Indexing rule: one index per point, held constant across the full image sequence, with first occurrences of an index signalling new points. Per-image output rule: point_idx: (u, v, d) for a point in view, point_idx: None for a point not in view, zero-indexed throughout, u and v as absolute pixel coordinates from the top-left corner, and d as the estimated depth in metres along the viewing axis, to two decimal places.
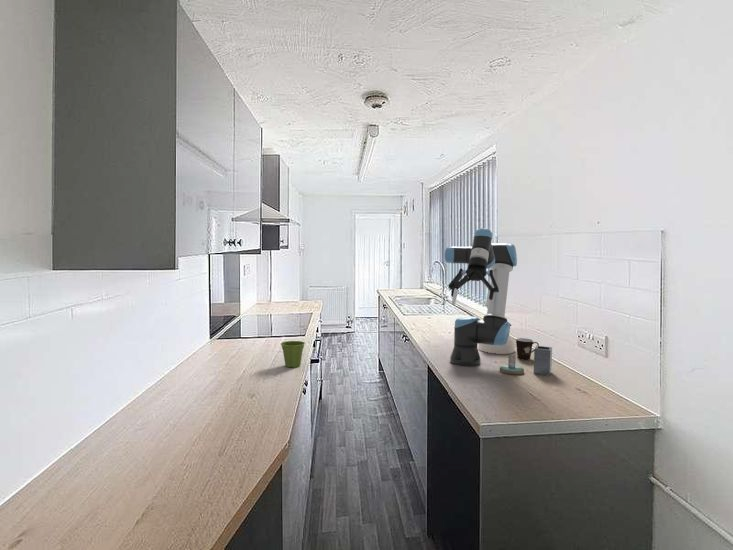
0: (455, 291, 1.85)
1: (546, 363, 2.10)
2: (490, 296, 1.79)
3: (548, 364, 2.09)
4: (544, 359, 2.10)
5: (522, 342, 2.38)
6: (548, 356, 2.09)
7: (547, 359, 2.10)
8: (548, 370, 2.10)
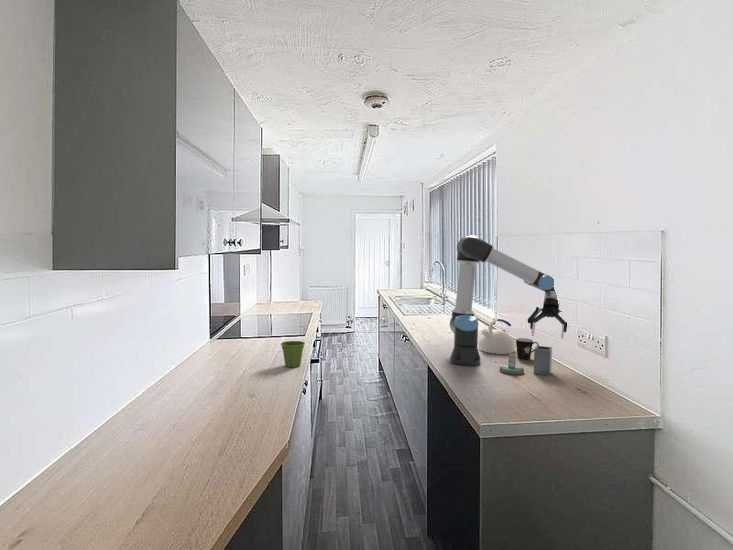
0: None
1: (546, 363, 2.10)
2: None
3: (548, 364, 2.09)
4: (544, 359, 2.10)
5: (522, 342, 2.38)
6: (548, 356, 2.09)
7: (547, 359, 2.10)
8: (548, 370, 2.10)
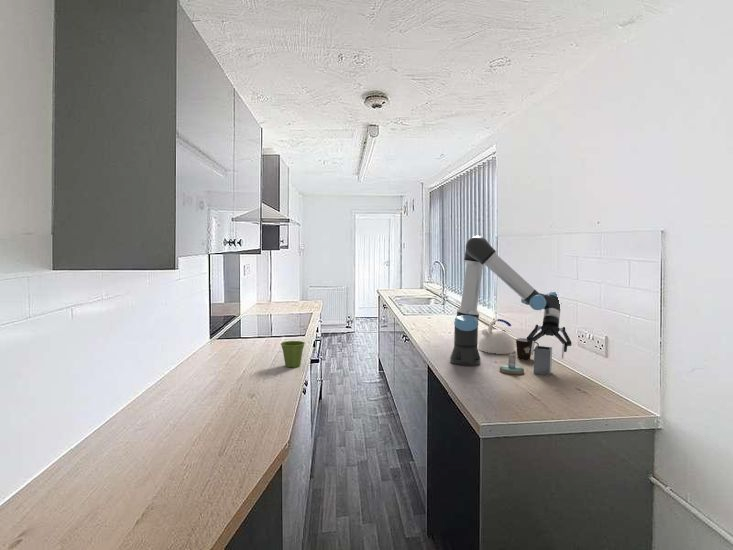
0: None
1: (546, 363, 2.10)
2: None
3: (548, 364, 2.09)
4: (544, 359, 2.10)
5: (522, 342, 2.38)
6: (548, 356, 2.09)
7: (547, 359, 2.10)
8: (548, 370, 2.10)
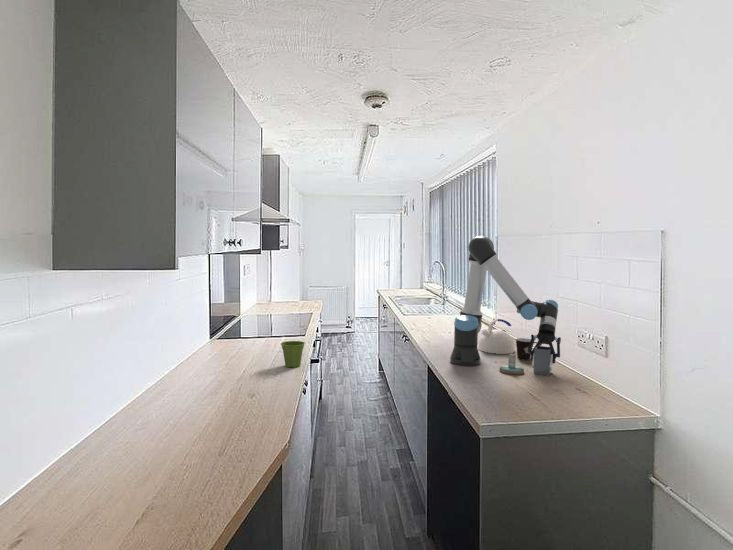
0: None
1: (546, 363, 2.10)
2: None
3: (548, 364, 2.09)
4: (544, 359, 2.10)
5: (522, 342, 2.38)
6: (548, 356, 2.09)
7: (547, 359, 2.10)
8: (548, 370, 2.10)
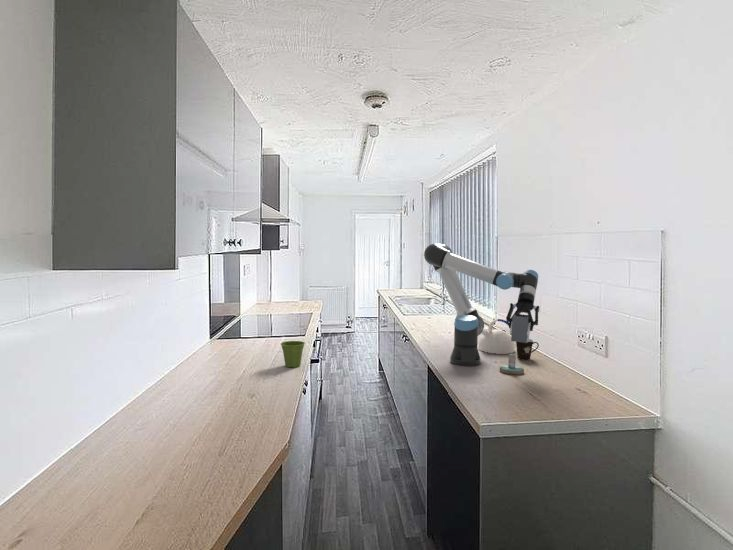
0: None
1: (524, 330, 2.10)
2: None
3: (526, 331, 2.09)
4: (522, 326, 2.10)
5: (522, 342, 2.38)
6: (526, 323, 2.09)
7: (525, 326, 2.10)
8: (525, 337, 2.10)
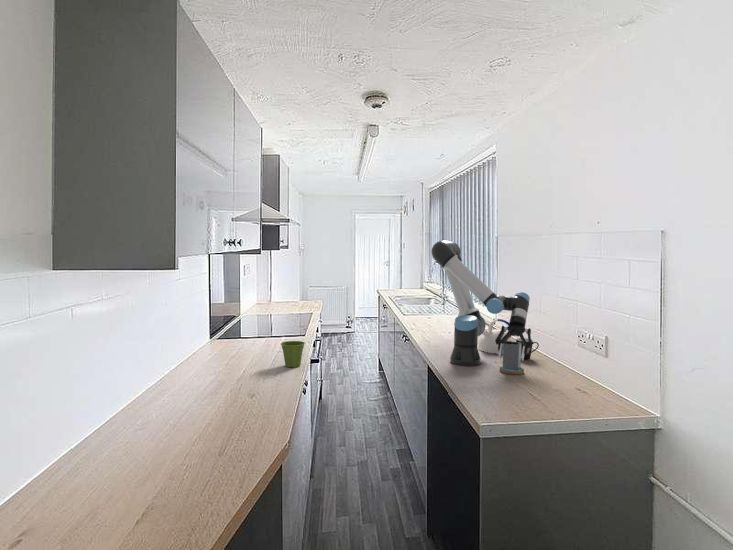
0: None
1: (515, 358, 2.11)
2: None
3: (516, 359, 2.11)
4: (513, 354, 2.12)
5: (522, 342, 2.38)
6: (516, 351, 2.11)
7: (516, 354, 2.11)
8: (517, 365, 2.11)
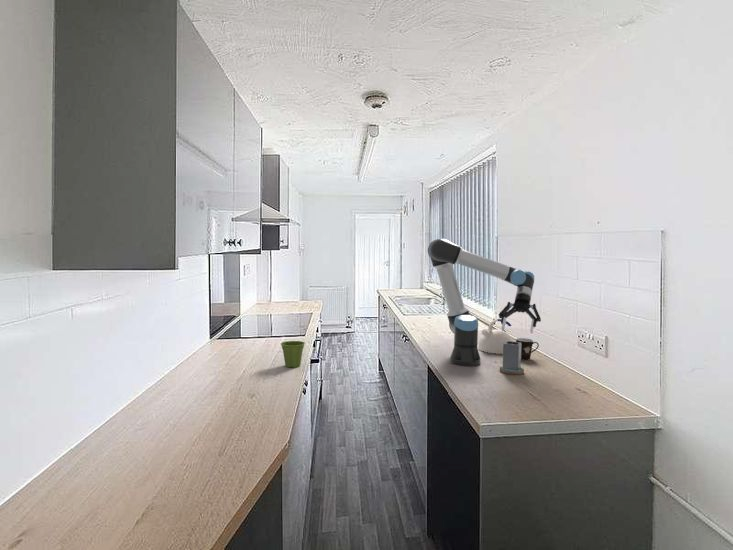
0: None
1: (515, 358, 2.11)
2: None
3: (516, 359, 2.11)
4: (513, 354, 2.12)
5: (522, 342, 2.38)
6: (516, 351, 2.11)
7: (516, 354, 2.11)
8: (517, 365, 2.11)
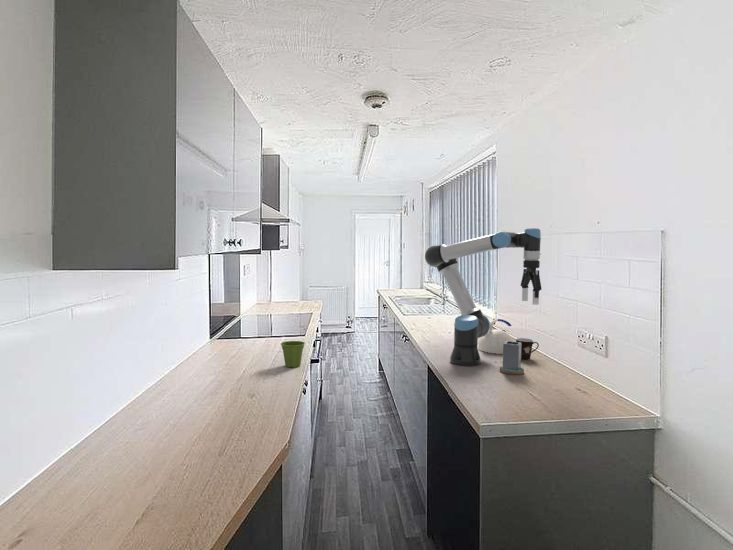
0: None
1: (515, 358, 2.11)
2: None
3: (516, 359, 2.11)
4: (513, 354, 2.12)
5: (522, 342, 2.38)
6: (516, 351, 2.11)
7: (516, 354, 2.11)
8: (517, 365, 2.11)
